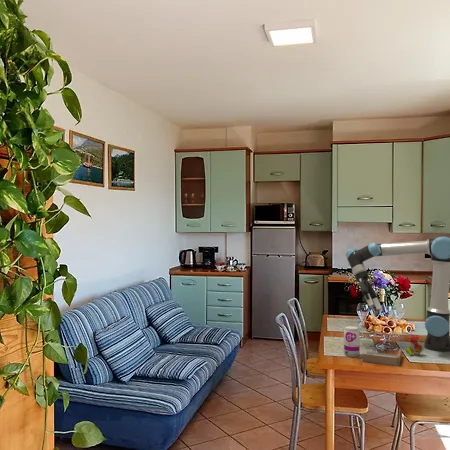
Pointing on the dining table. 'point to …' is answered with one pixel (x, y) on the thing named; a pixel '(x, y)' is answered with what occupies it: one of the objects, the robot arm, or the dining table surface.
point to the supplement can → (351, 341)
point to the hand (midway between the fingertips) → (375, 307)
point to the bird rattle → (417, 347)
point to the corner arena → (382, 358)
